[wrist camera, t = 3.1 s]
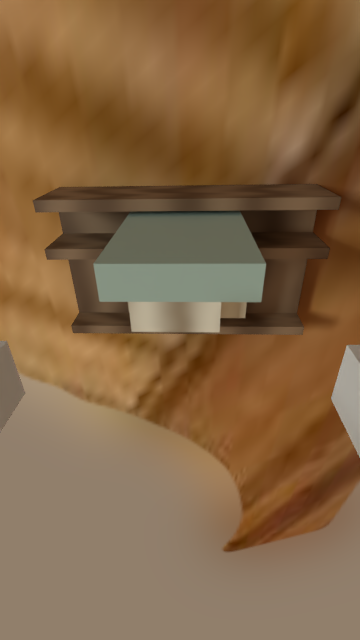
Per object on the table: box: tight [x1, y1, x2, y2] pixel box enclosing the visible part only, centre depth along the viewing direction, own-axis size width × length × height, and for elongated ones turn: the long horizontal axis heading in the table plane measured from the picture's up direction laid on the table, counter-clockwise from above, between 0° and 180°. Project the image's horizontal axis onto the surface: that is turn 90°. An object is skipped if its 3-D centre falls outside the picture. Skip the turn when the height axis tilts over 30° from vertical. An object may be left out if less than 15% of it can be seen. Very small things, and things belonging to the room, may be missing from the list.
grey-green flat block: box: [93, 211, 266, 302], centre depth 26 cm, size 10×2×16 cm, turn 91°
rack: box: [33, 184, 341, 335], centre depth 34 cm, size 26×15×6 cm, turn 91°
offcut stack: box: [128, 302, 247, 332], centre depth 34 cm, size 13×6×6 cm, turn 91°
